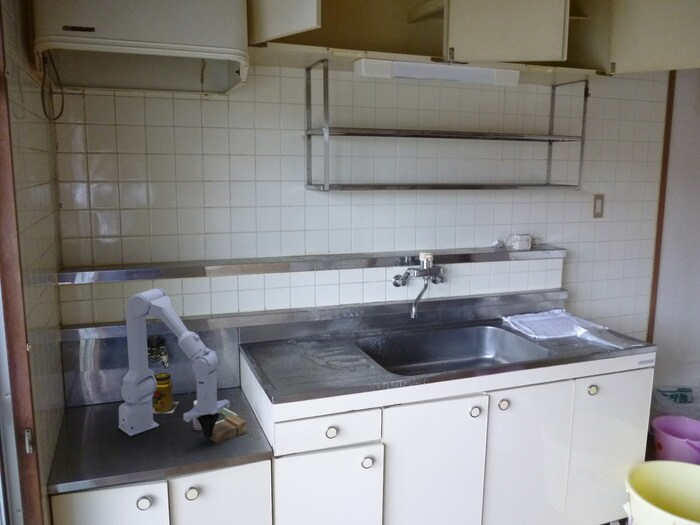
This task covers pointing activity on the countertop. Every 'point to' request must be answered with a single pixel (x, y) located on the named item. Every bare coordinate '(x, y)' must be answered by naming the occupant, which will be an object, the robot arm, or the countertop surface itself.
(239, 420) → the block
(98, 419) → the countertop surface
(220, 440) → the tan cardboard block
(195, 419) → the pill bottle
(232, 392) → the countertop surface
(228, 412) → the corral
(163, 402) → the condiment
